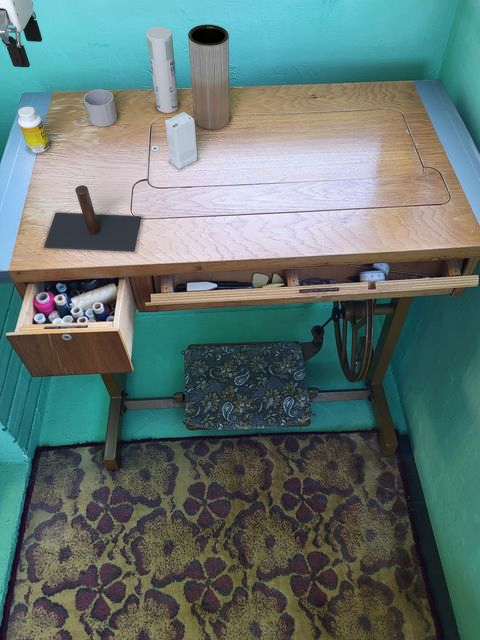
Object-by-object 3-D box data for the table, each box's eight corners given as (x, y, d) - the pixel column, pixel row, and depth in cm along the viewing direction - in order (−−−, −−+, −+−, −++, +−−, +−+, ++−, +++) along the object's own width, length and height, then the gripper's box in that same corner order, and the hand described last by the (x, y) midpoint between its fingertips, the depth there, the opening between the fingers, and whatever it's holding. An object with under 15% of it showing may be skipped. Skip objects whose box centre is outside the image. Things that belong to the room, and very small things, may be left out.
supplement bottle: (50, 153, 136) (37, 116, 127) (27, 154, 135) (13, 118, 126) (50, 139, 139) (38, 103, 130) (28, 141, 138) (15, 105, 129)
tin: (86, 125, 143) (80, 105, 138) (91, 109, 147) (86, 88, 142) (114, 127, 143) (110, 106, 138) (119, 110, 147) (115, 90, 142)
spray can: (177, 113, 147) (170, 39, 131) (154, 112, 147) (144, 38, 131) (180, 100, 151) (173, 26, 134) (157, 99, 151) (147, 25, 134)
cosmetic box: (187, 152, 138) (183, 109, 128) (198, 160, 137) (195, 118, 126) (169, 161, 136) (163, 119, 126) (179, 170, 134) (175, 128, 124)
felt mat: (44, 248, 118) (43, 246, 117) (56, 214, 124) (55, 212, 123) (133, 251, 118) (133, 250, 118) (140, 217, 124) (140, 216, 124)
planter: (237, 121, 147) (237, 36, 128) (209, 134, 143) (205, 49, 124) (214, 104, 151) (211, 19, 132) (186, 117, 147) (179, 32, 128)
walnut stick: (87, 234, 120) (73, 193, 110) (89, 226, 121) (76, 184, 111) (98, 235, 120) (86, 193, 110) (101, 227, 121) (88, 185, 111)
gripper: (-11, -68, 96) (21, 30, 110) (-43, -26, 87) (-3, 76, 101) (30, -66, 96) (57, 32, 111) (3, -24, 87) (36, 78, 101)
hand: (28, 53), depth 106 cm, fingers open, 9 cm apart
